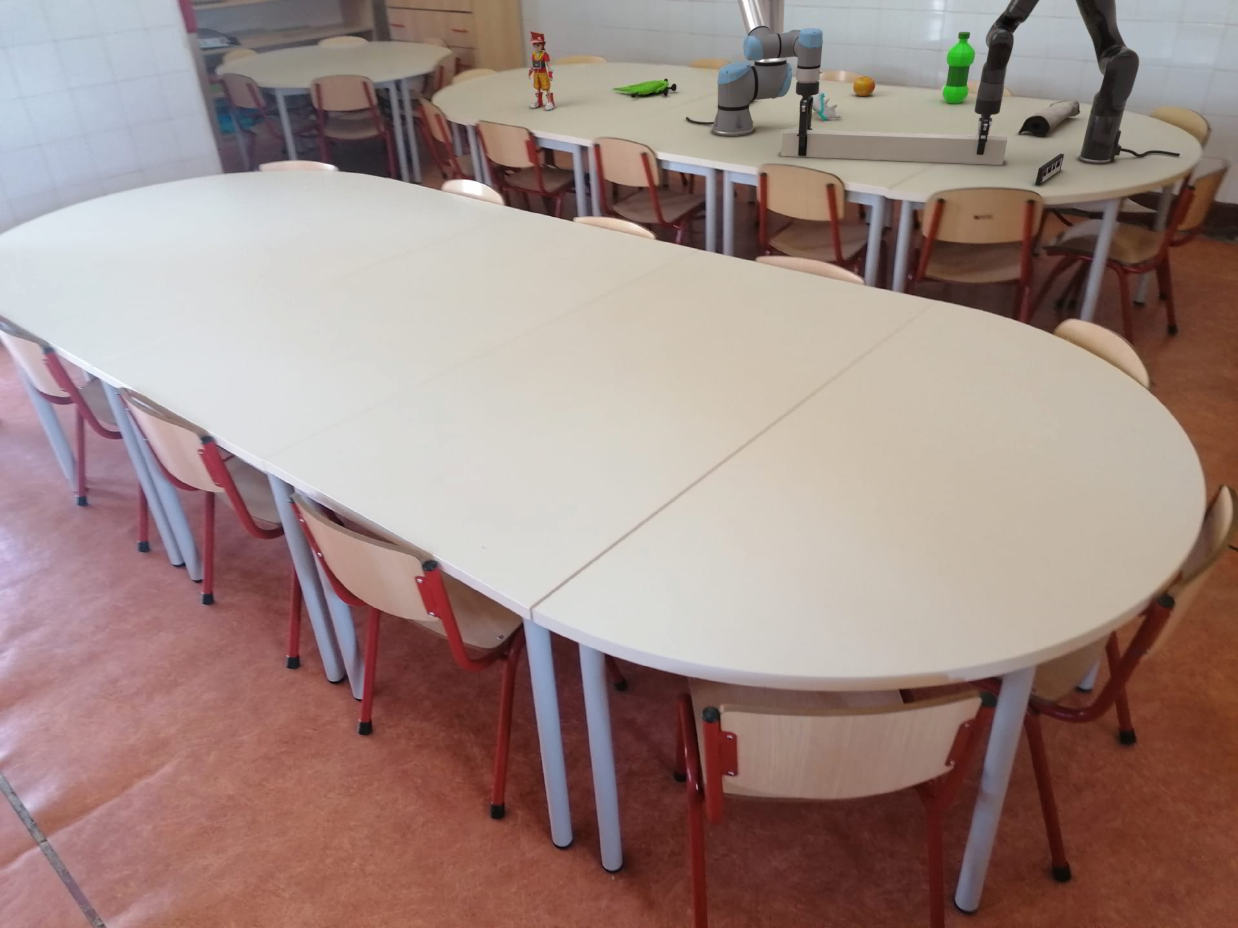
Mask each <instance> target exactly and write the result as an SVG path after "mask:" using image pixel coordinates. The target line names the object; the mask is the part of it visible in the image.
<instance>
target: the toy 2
mask: <svg viewBox="0 0 1238 928" xmlns="http://www.w3.org/2000/svg"><path fill="white" fill-rule="evenodd" d="M669 85H670V83H669V79H668V78H664V79H663V80H649V81H644V82H640V83H634V84H629V85H627V86H621V87H613V88H612V89H613V90H616V91H619V92H623V93H627V94H628V93H629V94H631V95H630V96H631V98H632V99H634V98H636V96H637V95H650V94H652V93H654V94H658V93H662V95H663V96H665V97H667V96H668V95H669V90H671V91H672V92H676V91H677V84H676V83H672V84H671V86H669Z"/></svg>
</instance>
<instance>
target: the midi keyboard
mask: <svg viewBox="0 0 1238 928" xmlns="http://www.w3.org/2000/svg"><path fill="white" fill-rule="evenodd" d="M1064 157H1065V153H1059V154H1058V155H1056V156H1055V157H1052V159H1051V160H1049V161H1047V162H1045V164H1042V165H1041V166H1039V167H1038V169H1037V175H1036V179H1035V186H1040V185H1042V183H1044V182H1045V181H1047V180H1048V179H1049V178H1051V177H1052V176H1054V175H1055V174H1056V173H1058V172H1060V171H1061V170H1062V165H1063V161H1064Z"/></svg>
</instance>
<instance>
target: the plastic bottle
mask: <svg viewBox="0 0 1238 928" xmlns="http://www.w3.org/2000/svg"><path fill="white" fill-rule="evenodd" d="M970 36H971V32H970V31H959V32H958V36H957V39H958V42H957V43H956V44H954V45H953V46H952V47H951V48H950V49H949V50H948V52H947V54H946V63H947V64H948V69H947V70H948V71H947V76H946V77H947V78H946V84H945V85H944V87H943V90H942V97H943V99H944V100H945V101H946V102H947V103H948V104H960V103H961V102H963V101H964V100H966V98H967V96H968V95H969V85H968V79H969V73H970V67H971V65H972V64H973V63H974V61H975V57H976V51H975V49H974V47H972V45H971V44H970V43H969V42H968V41H969V39H970V38H971V37H970Z"/></svg>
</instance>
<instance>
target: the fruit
mask: <svg viewBox="0 0 1238 928" xmlns="http://www.w3.org/2000/svg"><path fill="white" fill-rule="evenodd" d="M852 87H853V92H854V93H855V94H856V95H857V96H859V97H866V96H870V95H871V94H872V93H873V92H874V91H875V88H876V82H875V80H874V79H873V78H871V77H870V76H861V77H858V78H856V80H855V81H854V83H853V86H852Z"/></svg>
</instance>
